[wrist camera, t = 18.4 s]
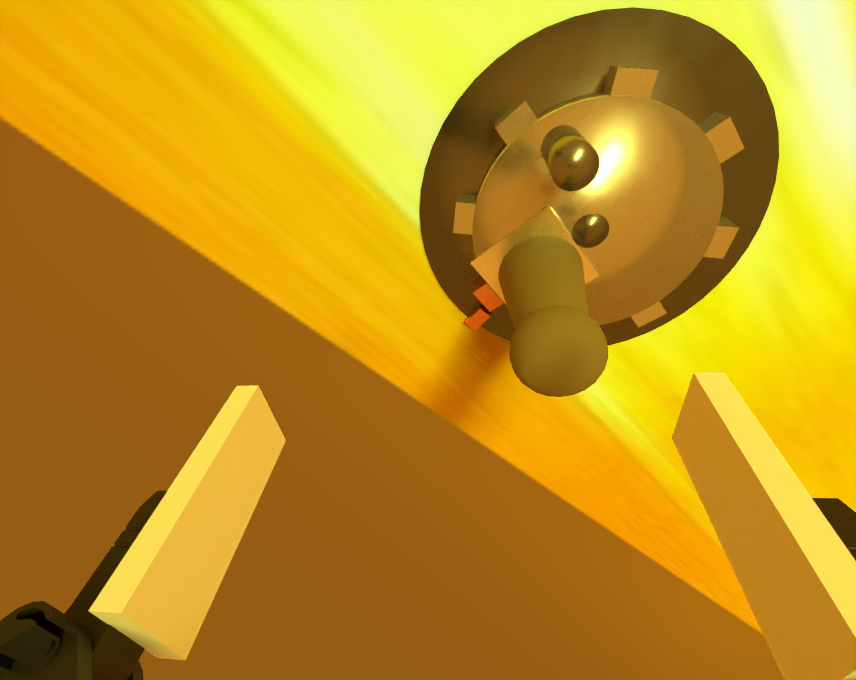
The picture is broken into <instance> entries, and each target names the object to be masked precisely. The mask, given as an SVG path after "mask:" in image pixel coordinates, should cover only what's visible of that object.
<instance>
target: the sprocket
mask: <svg viewBox="0 0 856 680" xmlns="http://www.w3.org/2000/svg"><path fill="white" fill-rule="evenodd" d="M658 71H659V70H655V69H651V68H643V67H629V66H615V65H610V67H609V70H608V74H607V78H606V82H605V86H604V89H603V92H598V93H592V94H587V95H581V96H578V97H575V98H572V99H569V100H566V101H563V102H561V103H558V104H556V105H554V106H552V107H550V108H548V109H546V110H544V111H543V112H541V113H539V114H538V115H535V114H534V112H533V111H532V109H531V108H530V106H529V105H528V103H527V102H526V100H525V99H524V97H523V98H522V99H520V100H519V101H518V102H517V103H516V104H515V105H514V106H513V107H512V108H510V109H509V110H508V111H507V112H506V113H505V114H504V115H503V116H502V117H500V118H499V119H498V120H497V121H496V122H495V129H496V130H497V132H498V133H499V135H500V136H501V137H502V139H503V140H504V142H505V143H504V144H503V146H502V147H501V148H500V150H499V151H498V152H497V154H496V155H495V156H494V158H493V159H492V161H491V163H490V165H489V166H488V168H487V170H486V172H485V174H484V176H483V179H482V181H481V183H480V186H479V189H478V193H477V195H470V194H459V193H458V194H457V199H456V207H455V218H454V228H453V233H459V234H470V235H472V239H473V247H474V253H475V257H476V258H475V259H473V260H472V261H471V262H470V264H471V265H472V266H473V267H474V268H475V269H476V271H477V272H478V273H479V274H480V275H481V276H480V277H479V278H477V279H476V280H474V281H473V294H474V295H475V296H476V297H477V298H478V299H479V301H480V302H481V303H482V304H483V305H484V306H485V307H486V308H487V309H488V310H489V312H491V311H492V310H494V309H495V308H497V307H498V306H500V305H502V304H503V303H505V304H506V302H505V299H504V296H503V293H502V290H501V286H500V283H499V279H498V278H499V267H500V265H501V263H502V261H503V259H504V256H505V255H506V254H507V253H508V252H509V251H510V250H511V249H512V247H513V246H515V245H517V244H518V243H520V242H522V241H523V240H525V239H528V238H532V237H536V236H555V237H558V238H561V239H564V240H566V241H567V242H569V243H570V244H571V245H573V246H574V247H575V248H576V249H577V251H578V253H579V254H580V256H581V258H582V263H583V270H584V279H585V289H586V298H587V308H588V315H589V316H590V317H592V318H593V319H594V320H595V321H596V322H597V323H598V325H604V324H608V323H612V322H615V321H619V320H622V319H625V318H627V317H630V316H631V318H632V319H633V320H634V322H635V323H636V325H637V326H638V327H641V326H643V325H645V324H647V323H649V322H651V321H653V320H655V319H657V318H659V317H661V316H662V315H664V314H666V313H667V312H666V311H665V309H664V308H663V306H662V304H661V303H660V300H661V299H663V298H664V297H665V296H667V295H668V294H669V293H671V292H672V291H673V290H674V289H675V288H676V287H678V286H679V285H680V284H681V283H682V282H683V281H684V280H685V279H686V278H687V277H688V275H689V274H690V273H691V272H692V271H693V270H694V268H695V267H696V266H697V265H698V263H699V262H700V260H701V259H702V257H711V258H721V259H723V258H724V256H725V254H726V252H727V250H728V249H729V247H730V245H731V243H732V241H733V239H734V237H735V235H736V233H737V231H738V229H739V227H737V226H736V225H735V224H734V223H732V222H731V221H730V220H728V219H727V218H725V217H720V216H721V212H722V207H723V195H724V187H723V175H722V170H721V166H720V164H721V163H723V162H724V161H726V160H727V159H729V158H730V157H732V156H733V155H735V154H737V153H738V152H740V151H741V150H743V149H744V146H743V144H742V141H741V139H740V137H739V135H738V133H737V131H736V128H735V126H734V124H733V122H732V120H731V117H730V116H727V115H724V114H721V113H718V112H714V113H713V114H711V115H710V116H709V117H707V118H706V119H704V120H703V121H701V122H700V123H699V124H697V125H696V124H695V123H694V122H693V121H692V120H691V119H690V118H688V117H687V116H686V115H684V114H683V113H681V112H680V111H678V110H677V109H674V108H672V107H670V106H668V105H666V104H664V103H661V102H659V101H657V100H654V99H652V98H650V96H651V93H652V90H653V87H654V84H655V81H656V77H657V74H658Z"/></svg>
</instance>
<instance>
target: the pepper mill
mask: <svg viewBox="0 0 856 680" xmlns="http://www.w3.org/2000/svg"><path fill="white" fill-rule="evenodd" d="M498 279H499V283H500V286H501V290H502V293H503V296H504V299H505V302H506V305H507V308H508V311H509V314H510V317H511V320H512V323H513V326H514V329H515V332H514V334H513V336H512V339H511V343H510V361H511V364H512V367H513V370H514V372H515V374H516V376H517V377H518V378H519V379H520V381H521V382H522V383H523V384H524V385H526V386H527V387H529V388H530V389H532V390H533V391H535V392H536V393H540V394H543V395H546V396H556V397H562V396H568V395H574V394H576V393H579V392H581V391H584V390H585V389H587V388H588V387H590V386H591V385H592V384H594V383H595V382H596V380H597V379H598V378H599V376H600V375H601V374H602V372H603V371H604V369H605V366H606V362H607V359H608V347H607V340H606V337H605V335H604V333H603V331H602V329H601V328H600V326H599V325H598V323H597V322H596V321H595V320H594V319H593V318H592V317H590V316H589V315H588V308H587V298H586V289H585V279H584V270H583V263H582V258H581V256H580V254H579V253H578V251H577V249H576V248H575V247H574V246H573V245H571V244H570V243H569V242H567V241H566V240H564V239H561V238H558V237H555V236H536V237H532V238H528V239H525V240H523V241H522V242H520V243H518V244H517V245H515V246H513V247H512V249H511V250H510V251H509V252H508V253H507V254H506V255H505V256H504V259H503V261H502V263H501V265H500V267H499V278H498Z"/></svg>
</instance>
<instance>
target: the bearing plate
mask: <svg viewBox="0 0 856 680" xmlns="http://www.w3.org/2000/svg"><path fill="white" fill-rule="evenodd" d="M610 65H615V66H629V67H643V68H651V69H655V70H659V71H658V74H657V77H656V81H655V84H654V87H653V90H652V93H651V96H650V98H652V99H654V100H657V101H659V102H661V103H664V104H666V105H668V106H670V107H672V108H674V109H677V110H678V111H680V112H681V113H683V114H684V115H686V116H687V117H688V118H690V119H691V120H692V121H693V122H694V123H695V124H696V125H697V124H699V123H700V122H701V121H703V120H704V119H706V118H707V117H709V116H710V115H711V114H713V113H714V112H718V113H721V114H724V115H727V116H730V117H731V120H732V122H733V124H734V126H735V128H736V131H737V133H738V135H739V137H740V139H741V141H742V144H743V146H744V149H743V150H741V151H740V152H738V153H737V154H735V155H733V156H732V157H730V158H729V159H727V160H726V161H724V162H723V163H721V164H720V166H721V170H722V175H723V187H724V195H723V207H722V212H721V216H720V217H725V218H727V219H728V220H730V221H731V222H732V223H734V224H735V225H736V226H737V227H739V229H738V231H737V233H736V235H735V237H734V239H733V241H732V243H731V245H730V247H729V249H728V250H727V252H726V254H725V256H724V258H723V259H721V258H711V257H702V259H701V260H700V262H699V263H698V265H697V266H696V267H695V268H694V270H693V271H692V272H691V273H690V274H689V275H688V277H687V278H686V279H685V280H684V281H683V282H682V283H681V284H680V285H679V286H678V287H676V288H675V289H674V290H673V291H672V292H671V293H669V294H668V295H667V296H665V297H664V298H663V299H661V300H660V303H661V304H662V306H663V308H664V309H665V311H666V312H667V313H666V314H664V315H662V316H661V317H659V318H657V319H655V320H653V321H651V322H649V323H647V324H645V325H643V326H641V327H638V326H637V325H636V323H635V322H634V320H633V319H632V318H631V316H630V317H627V318H625V319H622V320H619V321H615V322H612V323H608V324H604V325H599V326H600V328H601V329H602V331H603V333H604V335H605V337H606V340H607V345H611V344H615V343H619V342H622V341H626V340H629V339H632V338H634V337H637V336H640V335H642V334H645V333H647V332H649V331H652V330H654V329H656V328H658V327H660V326H662V325H664V324H666V323H667V322H669V321H671V320H672V319H674V318H676V317H677V316H679V315H681V314H682V313H684V312H685V311H687V310H688V309H689V308H691V307H692V306H693V305H695V304H696V303H697V302H699V301H700V300H701V299H702V298H704V297H705V296H706V295H707V294H708V293H709V292H710V291H711V290H712V289H713V288H715V287H716V286H717V285H718V284H719V283H720V282H721V281H722V279H723V278H724V277H725V276H726V275H727V274H728V273H729V272H730V271H731V269H732V268H733V267H734V266H735V265H736V263H737V262H738V260H739V259H740V258H741V256H742V255H743V254H744V252H745V251H746V249H747V248H748V246H749V245H750V243H751V241H752V239H753V238H754V236H755V234H756V232H757V231H758V229H759V227H760V225H761V222H762V220H763V218H764V215H765V213H766V211H767V208H768V206H769V203H770V199H771V196H772V192H773V188H774V185H775V181H776V174H777V167H778V159H779V140H778V127H777V122H776V117H775V111H774V107H773V104H772V102H771V99H770V96H769V94H768V91H767V88H766V86H765V84H764V82H763V80H762V79H761V77H760V75H759V74H758V72H757V71H756V69H755V67H754V66H753V64H752V63H751V61H750V60H749V59H748V58H747V57H746V56H745V55H744V54H743V53H742V52H741V51H740V50H739V48H738V47H737V46H736V45H735V44H734V43H732V42H731V41H730V40H728V39H727V38H725V37H724V36H723V35H721V34H720V33H719V32H717V31H716V30H714V29H713V28H711V27H709V26H707V25H704V24H702V23H700V22H698V21H696V20H694V19H692V18H690V17H686V16H682V15H679V14H675V13H671V12H667V11H663V10H655V9H643V8H622V9H609V10H601V11H597V12H592V13H588V14H584V15H579V16H575V17H572V18H569V19H567V20H564V21H562V22H559V23H556V24H554V25H551V26H549V27H546V28H544V29H542V30H541V31H539V32H537V33H535V34H533V35H531V36H530V37H528V38H526V39H524V40H522V41H521V42H519V43H518V44H516V45H515V46H514V47H512V48H511V49H509V50H508V51H507V52H505V53H504V54H503V55H501V56H500V57H499V58H497V59H496V60H495V61H494V62H493V63H492V64H491V65H490V66H488V67H487V68H486V69H485V70H484V71H483V72H482V73H481V74H480V75H479V76H478V77H477V78H476V79H475V80H474V81H473V82H472V84H471V85H470V86H469V87H468V88H467V90H466V91H465V92H464V93H463V95H462V96H461V97H460V98H459V99H458V101H457V102H456V104H455V105H454V107H453V109H452V110H451V112H450V113H449V115H448V117H447V118H446V120H445V121H444V123H443V125H442V127H441V129H440V131H439V134H438V136H437V138H436V140H435V142H434V144H433V147H432V150H431V153H430V156H429V159H428V162H427V165H426V168H425V173H424V178H423V183H422V189H421V202H420V219H421V232H422V237H423V242H424V247H425V251H426V254H427V257H428V259H429V262H430V265H431V268H432V270H433V272H434V274H435V276H436V278H437V279H438V281H439V283H440V285H441V286H442V288H443V289H444V291H445V292H446V293H447V295H448V296H449V298H450V299H451V300H452V301H453V302H454V303H455V304H456V305H457V306H458V308H459V309H460V310H461V311H462V312H464V313H465V314H466V315H467V316H468V318H467V319H466V320H465V324H466V325H468V326H469V327H470V328H472V329H473V330H474V331H475V330H476V329H478V328H479V327H480V326H482V327H484V328H485V329H487V330H488V331H490V332H492V333H494V334H496V335H499V336H501V337H503V338H505V339H508V340H511V339H512V336H513V334H514V332H515V329H514V326H513V323H512V320H511V317H510V314H509V311H508V308H507V305H506V304H505V303H503V304H502V305H500V306H498V307H497V308H495V309H494V310H492V311H491V312H489V310H488V309H487V308H486V307H485V306H484V305H483V304H482V303H481V302H480V301H479V299H478V298H477V297H476V296H475V295H474V294H473V281H474V280H476V279H477V278H479V277H480V276H481V275H480V274H479V273H478V272H477V271H476V269H475V268H474V267H473V266H472V265H471V264H470V262H471V261H472V260H473V259H475V258H476V257H475V253H474V247H473V239H472V235H470V234H459V233H453V228H454V218H455V207H456V199H457V194H458V193H459V194H470V195H477V193H478V189H479V186H480V183H481V181H482V179H483V176H484V174H485V172H486V170H487V168H488V166H489V165H490V163H491V161H492V159H493V158H494V156H495V155H496V154H497V152H498V151H499V150H500V148H501V147H502V146H503V144H504V143H505V142H504V140H503V139H502V137H501V136H500V135H499V133H498V132H497V130H496V129H495V122H496V121H497V120H498V119H499V118H500V117H502V116H503V115H504V114H505V113H506V112H507V111H508V110H509V109H510V108H512V107H513V106H514V105H515V104H516V103H517V102H518V101H519V100H520V99H522V98H523V97H524V99H525V100H526V102H527V103H528V105H529V106H530V108H531V109H532V111H533V112H534V114H535V115H538V114H539V113H541V112H543V111H544V110H546V109H548V108H550V107H552V106H554V105H556V104H558V103H561V102H563V101H566V100H569V99H572V98H575V97H578V96H581V95H587V94H592V93H598V92H603V89H604V86H605V82H606V78H607V74H608V70H609V67H610Z"/></svg>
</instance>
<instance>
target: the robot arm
mask: <svg viewBox="0 0 856 680" xmlns="http://www.w3.org/2000/svg"><path fill="white" fill-rule="evenodd" d="M672 439H673V441H674V443H675V445H676V448H677V450H678V452H679V454H680V456H681V458H682V460H683V463H684V465H685V467H686V469H687V471H688V473H689V475H690V478H691V480H692V482H693V484H694V486H695V488H696V491H697V493H698V495H699V497H700V499H701V501H702V503H703V506H704V508H705V510H706V512H707V514H708V516H709V519H710V521H711V523H712V525H713V527H714V529H715V531H716V534H717V536H718V538H719V540H720V542H721V544H722V547H723V549H724V551H725V553H726V555H727V557H728V559H729V562H730V564H731V566H732V568H733V570H734V572H735V575H736V577H737V579H738V581H739V583H740V585H741V587H742V590H743V592H744V594H745V596H746V598H747V600H748V603H749V605H750V607H751V609H752V611H753V613H754V615H755V618H756V620H757V622H758V624H759V626H760V628H761V631H762V633H763V635H764V637H765V639H766V641H767V643H768V646H769V648H770V650H771V652H772V654H773V656H774V658H775V661H776V663H777V665H778V667H779V669H780V671H781V673H782V676H783V678H784V680H856V512H854V511H853V510H852V509H851V508H849V507H848V506H847V505H846V504H844V503H843V502H842V501H841V500H839V499H838V498H811V496H810V495H809V493H808V492H807V491H806V489H805V488H804V486H803V485H802V483H801V482H800V481H799V479H798V478H797V476H796V475H795V473H794V472H793V471H792V469H791V468H790V466H789V465H788V463H787V462H786V460H785V459H784V458H783V456H782V455H781V453H780V452H779V450H778V449H777V448H776V446H775V445H774V443H773V442H772V440H771V439H770V438H769V436H768V435H767V433H766V432H765V430H764V429H763V428H762V426H761V425H760V423H759V422H758V420H757V419H756V418H755V416H754V415H753V413H752V412H751V410H750V409H749V408H748V406H747V405H746V403H745V402H744V400H743V399H742V397H741V396H740V395H739V393H738V392H737V390H736V389H735V387H734V386H733V385H732V383H731V382H730V380H729V379H728V377H727V376H726V375H725V373H724V372H709V373H694V374H693V377H692V380H691V383H690V386H689V389H688V392H687V395H686V398H685V401H684V404H683V407H682V410H681V412H680V415H679V418H678V421H677V424H676V427H675V430H674V433H673V436H672ZM285 441H286V440H285V438H284V436H283V434H282V432H281V430H280V428H279V426H278V424H277V422H276V420H275V418H274V416H273V414H272V412H271V410H270V408H269V406H268V404H267V402H266V400H265V398H264V396H263V394H262V392H261V390H260V388H259V386H237V387H236V388H235V390H234V391H233V393H232V394H231V396H230V397H229V399H228V400H227V402H226V403H225V405H224V406H223V408H222V409H221V411H220V412H219V414H218V415H217V417H216V418H215V420H214V421H213V423H212V424H211V426H210V427H209V429H208V431H207V432H206V434H205V435H204V436H203V438H202V439H201V441H200V443H199V444H198V446H197V447H196V449H195V450H194V452H193V453H192V455H191V456H190V458H189V459H188V461H187V462H186V464H185V465H184V467H183V468H182V470H181V471H180V473H179V474H178V476H177V477H176V479H175V481H174V482H173V483H172V485H171V486H170V488H169V489H168V491H157V492H156V493H155V494H154V495H152V496H151V497H150V498H149V499H148V500H147V501H146V502H145V503H144V504H143V505H142V506H141V507H139V509H138V510H137V512H136V513H135V514H134V516H133V518H132V519H131V520H130V522H129V523H128V525H127V526H126V530H125V531H123V532H122V533H121V535H120V536H119V537H118V539H117V540H116V542H115V546H114V547H112V548H111V549H110V551H109V552H108V553H107V555H106V556H105V558H104V559H103V560H102V562H101V563H100V565H99V566H98V568H97V569H96V571H95V572H94V573H93V575H92V576H91V578H90V579H89V581H88V582H87V584H86V585H85V586H84V588H83V589H82V591H81V592H80V594H79V595H78V597H77V598H76V599H75V601H74V602H73V604H72V605H71V606H70V608H69V609H68V610H67V611H66V613H65V614H63V613H62V612H60V611H59V610H57V609H56V608H54V607H52V606H51V605H49V604H47V603H46V602H44V601H40V602H31V603H29V604H27V605H24V606H22V607H20V608H18V609H16V610H15V611H13V612H12V613H10V614H9V615H8V616H6V617H5V618H3V619H2V620H1V621H0V680H143V670H142V668H141V665H140V662H139V661H138V660H139V658H140V656H141V654H142V652H143V651H144V649H145V650H146V651H148V652H149V653H151V654H152V655H154V656H155V657H157V658H166V659H178V660H186V658H187V655H188V653H189V651H190V649H191V647H192V645H193V642H194V640H195V638H196V636H197V634H198V632H199V629H200V627H201V625H202V623H203V620H204V618H205V616H206V614H207V612H208V610H209V607H210V605H211V603H212V601H213V599H214V597H215V594H216V592H217V590H218V588H219V585H220V583H221V581H222V579H223V577H224V575H225V572H226V570H227V568H228V566H229V564H230V561H231V559H232V557H233V555H234V553H235V551H236V548H237V546H238V544H239V542H240V540H241V538H242V535H243V533H244V531H245V529H246V527H247V524H248V522H249V520H250V518H251V515H252V513H253V511H254V509H255V507H256V505H257V503H258V500H259V498H260V496H261V494H262V492H263V489H264V487H265V485H266V483H267V481H268V478H269V476H270V474H271V472H272V470H273V468H274V465H275V463H276V461H277V459H278V457H279V455H280V452H281V450H282V448H283V446H284V443H285Z"/></svg>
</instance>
